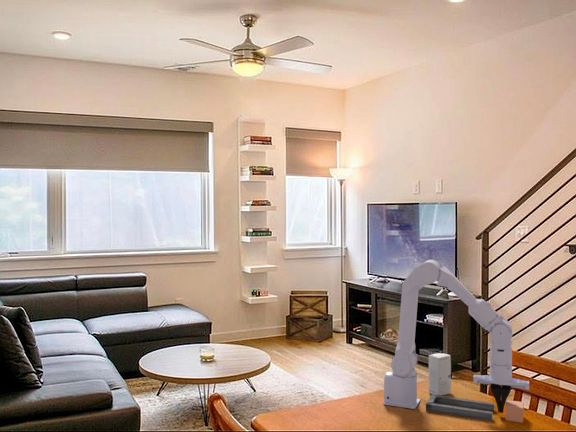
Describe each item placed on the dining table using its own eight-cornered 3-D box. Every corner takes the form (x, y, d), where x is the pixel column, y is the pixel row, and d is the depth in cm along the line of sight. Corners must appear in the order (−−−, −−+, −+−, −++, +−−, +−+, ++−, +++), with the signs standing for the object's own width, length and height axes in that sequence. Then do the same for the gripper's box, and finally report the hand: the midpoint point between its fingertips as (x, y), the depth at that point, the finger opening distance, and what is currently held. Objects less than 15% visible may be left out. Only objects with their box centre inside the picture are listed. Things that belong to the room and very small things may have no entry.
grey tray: (425, 410, 157) (425, 404, 157) (431, 401, 166) (431, 394, 166) (492, 421, 150) (492, 413, 150) (494, 410, 158) (494, 403, 158)
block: (505, 420, 150) (505, 405, 150) (506, 413, 155) (506, 399, 155) (522, 422, 148) (522, 408, 148) (523, 416, 153) (523, 402, 153)
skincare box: (438, 396, 169) (438, 358, 169) (427, 392, 173) (427, 354, 173) (451, 393, 173) (452, 355, 173) (440, 389, 176) (440, 352, 176)
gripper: (529, 362, 153) (529, 410, 154) (475, 356, 160) (475, 403, 160) (528, 369, 147) (528, 419, 147) (472, 363, 153) (472, 411, 153)
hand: (500, 411), depth 153 cm, fingers closed
